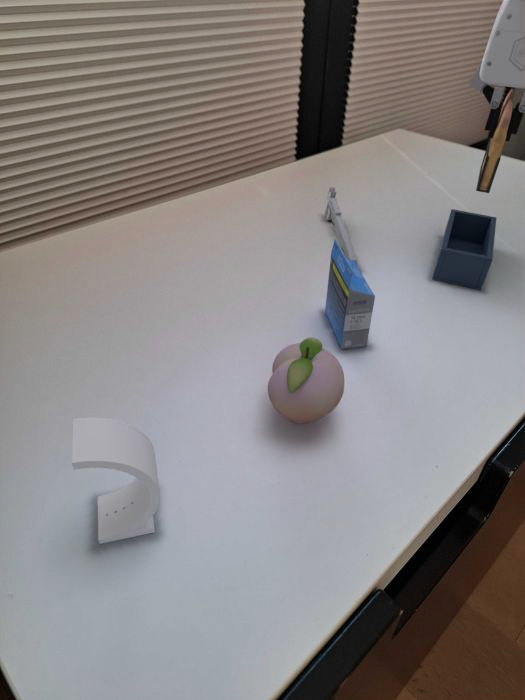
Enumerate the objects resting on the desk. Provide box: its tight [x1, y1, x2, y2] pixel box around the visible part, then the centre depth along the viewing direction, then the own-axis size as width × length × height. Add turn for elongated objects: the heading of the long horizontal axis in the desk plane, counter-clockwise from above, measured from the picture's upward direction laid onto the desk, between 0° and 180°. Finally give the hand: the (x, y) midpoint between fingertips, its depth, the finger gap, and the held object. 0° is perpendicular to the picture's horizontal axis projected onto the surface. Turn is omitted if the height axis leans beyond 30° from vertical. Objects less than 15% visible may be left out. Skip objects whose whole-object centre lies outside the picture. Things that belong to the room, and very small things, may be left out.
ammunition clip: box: [475, 88, 514, 194], centre depth 75 cm, size 11×2×12 cm, turn 158°
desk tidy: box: [431, 208, 497, 291], centre depth 85 cm, size 8×16×6 cm, turn 158°
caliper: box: [324, 187, 359, 268], centre depth 89 cm, size 20×1×6 cm, turn 8°
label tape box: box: [324, 236, 376, 350], centre depth 68 cm, size 9×4×12 cm, turn 9°
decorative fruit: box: [267, 337, 345, 424], centre depth 56 cm, size 9×8×10 cm
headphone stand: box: [71, 416, 161, 545], centre depth 45 cm, size 5×6×12 cm
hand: (498, 136), depth 74 cm, fingers closed on ammunition clip, 1 cm apart
